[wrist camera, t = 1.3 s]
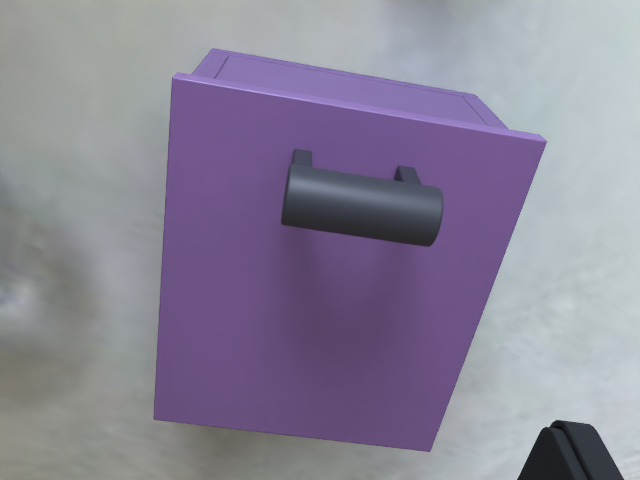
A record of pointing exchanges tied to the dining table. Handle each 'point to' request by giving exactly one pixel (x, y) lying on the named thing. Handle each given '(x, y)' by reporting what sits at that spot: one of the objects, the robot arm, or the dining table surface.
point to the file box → (346, 87)
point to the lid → (326, 260)
